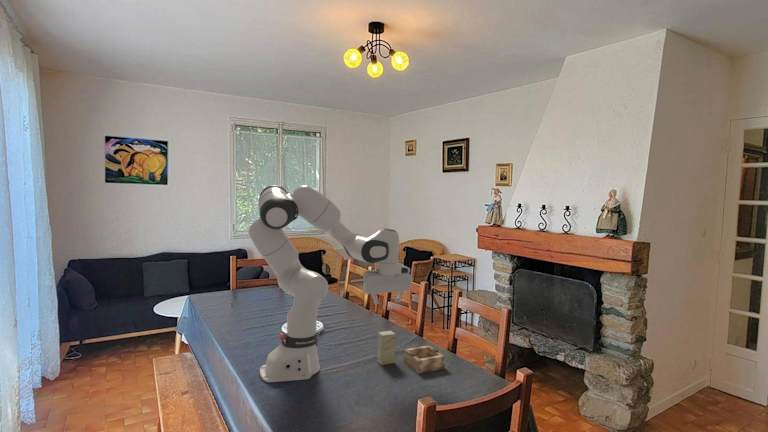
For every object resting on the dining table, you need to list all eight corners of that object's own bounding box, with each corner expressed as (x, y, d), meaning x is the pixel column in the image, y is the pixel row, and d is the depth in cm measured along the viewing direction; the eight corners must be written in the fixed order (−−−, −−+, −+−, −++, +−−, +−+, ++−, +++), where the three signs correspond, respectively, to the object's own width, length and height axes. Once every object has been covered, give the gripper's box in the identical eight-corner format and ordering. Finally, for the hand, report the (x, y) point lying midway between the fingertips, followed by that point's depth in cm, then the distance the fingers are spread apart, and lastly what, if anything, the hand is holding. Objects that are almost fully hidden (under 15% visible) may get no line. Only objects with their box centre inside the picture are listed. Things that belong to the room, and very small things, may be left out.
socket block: (417, 373, 157) (418, 359, 156) (403, 361, 167) (403, 348, 167) (444, 368, 161) (445, 354, 161) (429, 356, 172) (429, 344, 172)
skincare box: (381, 365, 163) (381, 335, 162) (376, 361, 167) (377, 332, 166) (395, 362, 166) (396, 333, 165) (390, 358, 170) (390, 329, 169)
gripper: (366, 272, 157) (365, 307, 158) (413, 268, 165) (413, 302, 166) (360, 269, 162) (360, 303, 163) (406, 265, 171) (406, 298, 172)
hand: (387, 302), depth 165 cm, fingers open, 8 cm apart
